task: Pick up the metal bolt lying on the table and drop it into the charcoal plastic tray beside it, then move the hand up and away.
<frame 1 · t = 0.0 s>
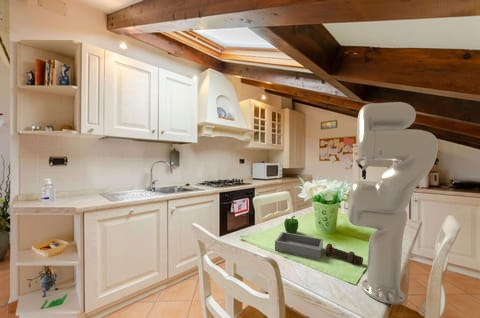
hand: (377, 179, 97), 37 cm above the table, tool pointing down, fingers open, 9 cm apart
tray: (299, 249, 109), on the table
bell pepper: (291, 233, 131), on the table
bolt: (343, 260, 99), on the table
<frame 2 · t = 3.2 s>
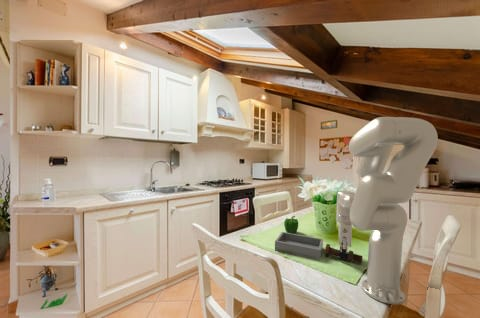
hand: (343, 257, 99), 1 cm above the table, tool pointing down, fingers closed on bolt, 5 cm apart
bolt: (343, 260, 99), on the table, touching gripper
everything else where it was.
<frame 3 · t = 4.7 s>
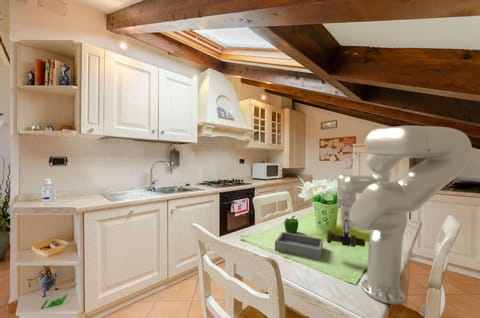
hand: (345, 242, 98), 8 cm above the table, tool pointing down, fingers closed on bolt, 5 cm apart
bolt: (345, 245, 98), point 7 cm above the table, touching gripper
everything else where it was.
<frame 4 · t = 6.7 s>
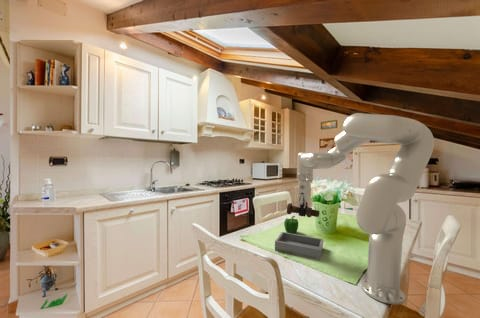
hand: (303, 214, 108), 18 cm above the table, tool pointing down, fingers closed on bolt, 5 cm apart
bolt: (302, 216, 108), point 17 cm above the table, touching gripper
everything else where it was.
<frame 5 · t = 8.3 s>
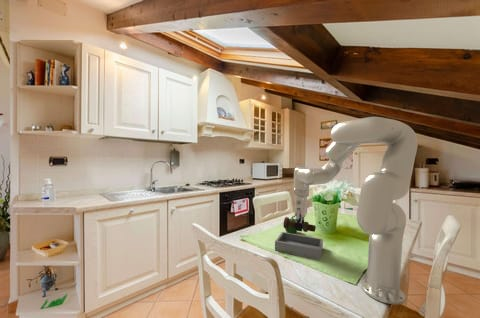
hand: (299, 228, 109), 10 cm above the table, tool pointing down, fingers closed on bolt, 5 cm apart
bolt: (299, 230, 109), point 9 cm above the table, touching gripper
everything else where it was.
when the fingers open (4 cm above the table, at t = 9.9 s): bolt drops 2 cm, resting on tray.
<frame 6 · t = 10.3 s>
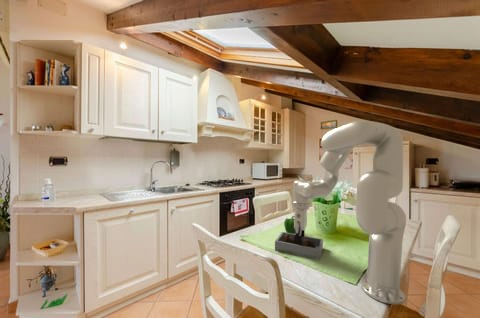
hand: (299, 239, 109), 5 cm above the table, tool pointing down, fingers open, 9 cm apart
bolt: (299, 247, 109), point 1 cm above the table, touching tray
everything else where it was.
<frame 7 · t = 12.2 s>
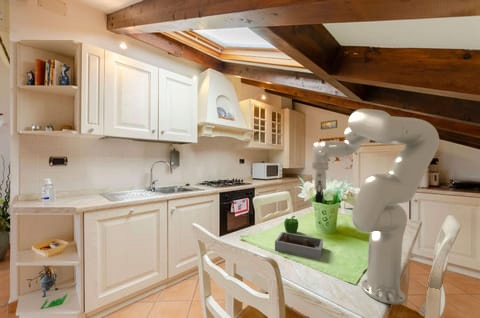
hand: (319, 200, 110), 24 cm above the table, tool pointing down, fingers open, 9 cm apart
nothing on the table moved.
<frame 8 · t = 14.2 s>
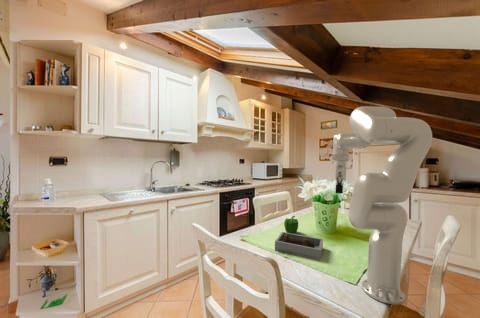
hand: (339, 191, 113), 28 cm above the table, tool pointing down, fingers open, 9 cm apart
nothing on the table moved.
at the end: bolt inside the target area on the tray (0.6 cm from its centre), point 0.8 cm above the tray's base; the gripper is holding nothing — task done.
